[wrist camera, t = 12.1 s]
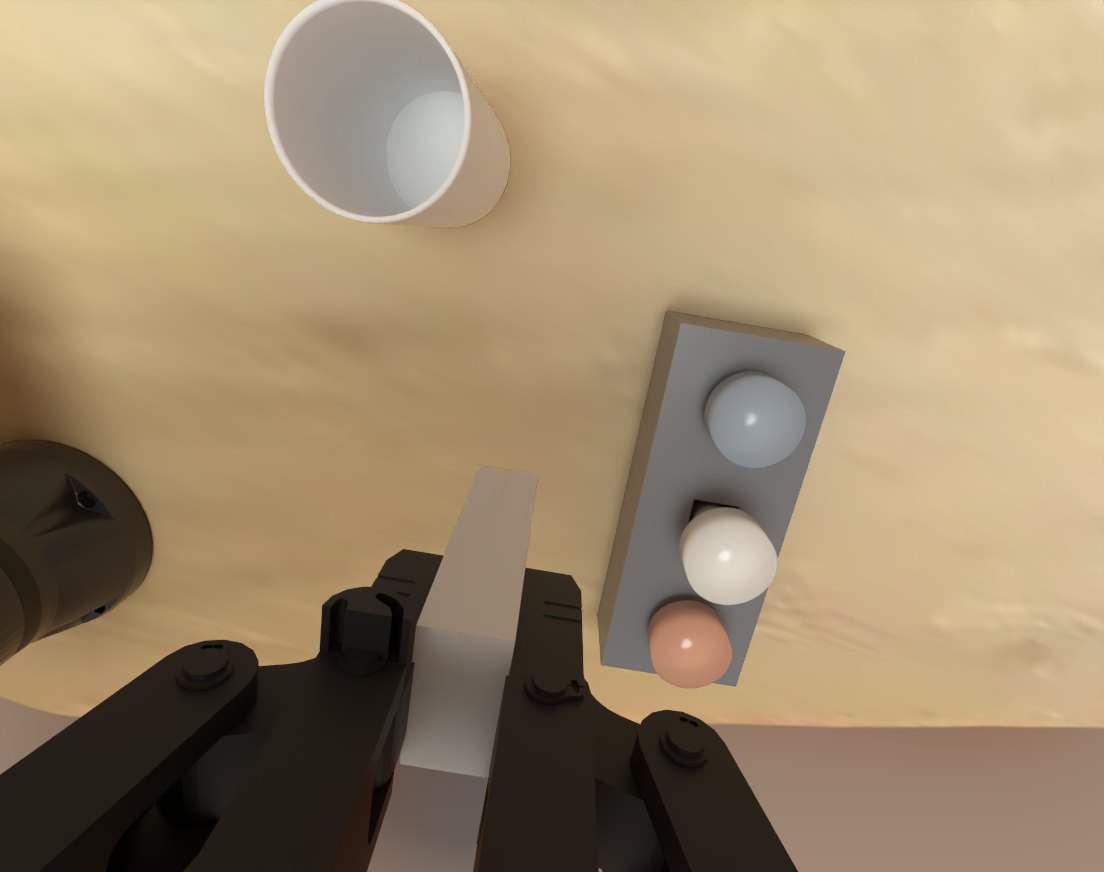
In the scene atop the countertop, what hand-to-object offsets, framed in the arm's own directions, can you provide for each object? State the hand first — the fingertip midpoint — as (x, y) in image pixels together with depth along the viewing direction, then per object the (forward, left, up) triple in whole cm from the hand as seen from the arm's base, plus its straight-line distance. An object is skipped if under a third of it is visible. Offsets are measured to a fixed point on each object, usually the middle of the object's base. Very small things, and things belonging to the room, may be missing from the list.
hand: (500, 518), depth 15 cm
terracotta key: (+13, -17, -26) cm, 34 cm away
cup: (-8, +10, -29) cm, 31 cm away
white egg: (+13, -9, -24) cm, 29 cm away
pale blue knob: (+13, -1, -26) cm, 29 cm away
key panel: (+13, -9, -28) cm, 32 cm away
